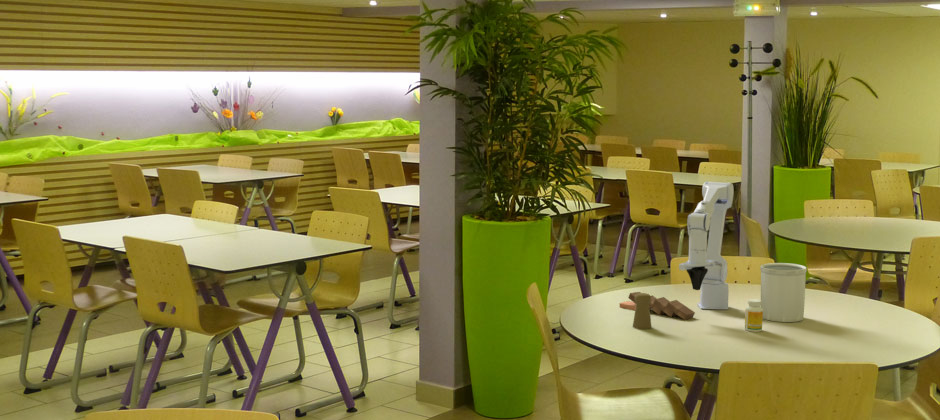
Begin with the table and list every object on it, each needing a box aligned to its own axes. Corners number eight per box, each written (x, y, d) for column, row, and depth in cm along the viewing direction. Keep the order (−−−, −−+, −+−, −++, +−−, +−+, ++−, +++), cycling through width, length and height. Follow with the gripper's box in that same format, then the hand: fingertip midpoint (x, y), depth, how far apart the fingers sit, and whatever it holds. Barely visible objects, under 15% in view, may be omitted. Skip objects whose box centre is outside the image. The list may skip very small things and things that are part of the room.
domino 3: (669, 308, 338) (652, 295, 343) (661, 310, 334) (643, 297, 339) (667, 312, 338) (650, 300, 343) (659, 315, 335) (641, 302, 340)
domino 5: (695, 312, 331) (676, 299, 335) (686, 314, 327) (668, 302, 332) (692, 317, 332) (674, 304, 336) (684, 319, 328) (666, 307, 333)
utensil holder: (750, 317, 331) (752, 266, 329) (770, 310, 342) (772, 260, 340) (792, 325, 321) (794, 272, 319) (811, 317, 332) (814, 266, 330)
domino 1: (646, 304, 344) (628, 300, 350) (638, 306, 341) (619, 303, 346) (646, 310, 345) (628, 306, 350) (638, 312, 341) (619, 308, 347)
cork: (652, 325, 320) (653, 292, 319) (650, 330, 314) (650, 296, 313) (634, 324, 322) (635, 291, 321) (631, 328, 316) (631, 294, 315)
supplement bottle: (741, 328, 317) (742, 299, 315) (755, 327, 318) (756, 298, 317) (751, 332, 311) (752, 302, 310) (765, 331, 313) (766, 301, 312)
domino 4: (681, 309, 334) (663, 296, 339) (673, 312, 331) (655, 299, 336) (679, 314, 335) (661, 301, 340) (670, 317, 332) (653, 304, 336)
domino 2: (655, 304, 342) (639, 291, 347) (646, 305, 339) (630, 293, 344) (653, 309, 343) (637, 296, 348) (644, 310, 339) (628, 297, 345)
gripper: (704, 245, 335) (703, 285, 336) (672, 249, 327) (671, 289, 329) (720, 248, 329) (718, 288, 330) (688, 252, 321) (686, 293, 323)
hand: (696, 289), depth 329 cm, fingers closed
